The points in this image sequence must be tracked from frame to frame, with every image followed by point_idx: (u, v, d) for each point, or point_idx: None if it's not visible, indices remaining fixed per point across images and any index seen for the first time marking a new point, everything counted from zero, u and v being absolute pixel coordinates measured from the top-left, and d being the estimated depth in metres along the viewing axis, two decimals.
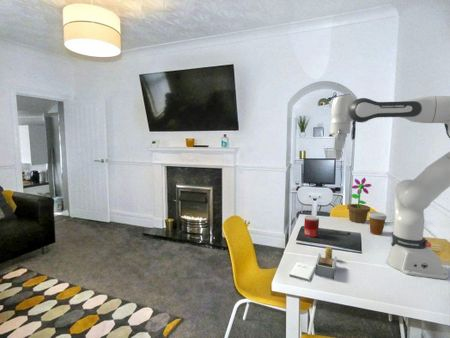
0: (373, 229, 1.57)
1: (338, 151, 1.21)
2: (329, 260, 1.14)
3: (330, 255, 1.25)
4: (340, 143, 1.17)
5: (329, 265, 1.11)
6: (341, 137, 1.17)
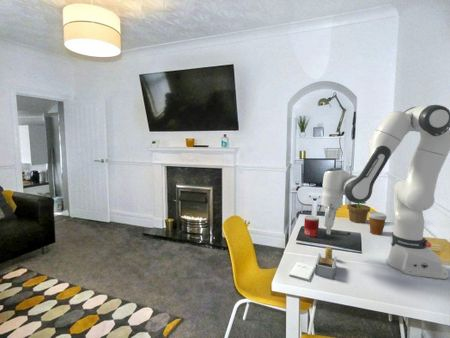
0: (373, 229, 1.57)
1: (329, 227, 1.18)
2: (329, 260, 1.14)
3: (330, 255, 1.25)
4: (331, 221, 1.14)
5: (329, 265, 1.11)
6: (332, 215, 1.14)
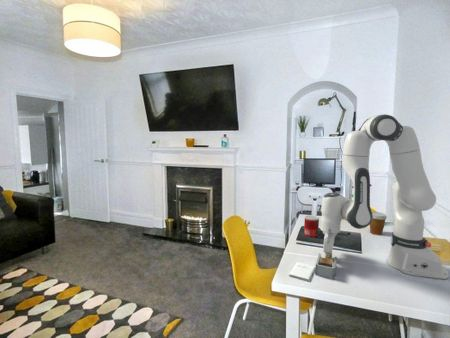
0: (373, 229, 1.57)
1: None
2: (329, 260, 1.14)
3: (330, 255, 1.25)
4: (329, 247, 1.16)
5: (329, 265, 1.11)
6: (330, 241, 1.16)
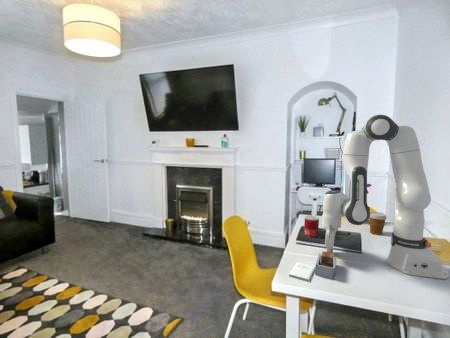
0: (373, 229, 1.57)
1: None
2: (330, 254, 1.20)
3: (331, 250, 1.30)
4: (331, 242, 1.22)
5: (330, 259, 1.17)
6: (332, 236, 1.22)
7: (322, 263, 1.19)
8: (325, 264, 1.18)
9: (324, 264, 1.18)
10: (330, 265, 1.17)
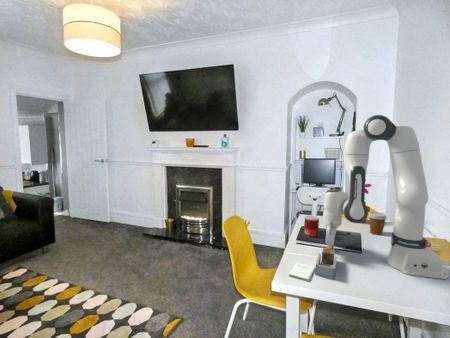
0: (373, 229, 1.57)
1: None
2: (331, 250, 1.23)
3: (332, 247, 1.34)
4: (331, 239, 1.25)
5: (331, 255, 1.20)
6: (332, 233, 1.25)
7: (323, 259, 1.22)
8: (326, 260, 1.21)
9: (325, 260, 1.22)
10: (331, 261, 1.21)
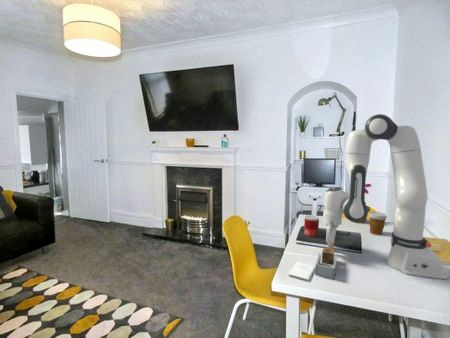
0: (373, 229, 1.57)
1: (330, 242, 1.29)
2: (331, 250, 1.23)
3: (332, 246, 1.34)
4: (332, 238, 1.25)
5: (331, 255, 1.20)
6: (333, 232, 1.25)
7: (323, 259, 1.22)
8: (326, 260, 1.22)
9: (325, 259, 1.22)
10: (331, 261, 1.21)
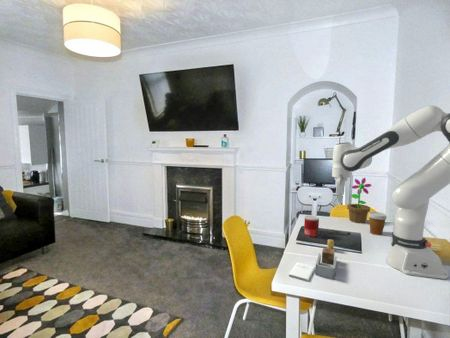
0: (373, 229, 1.57)
1: (340, 194, 1.32)
2: (331, 250, 1.23)
3: (332, 246, 1.34)
4: (342, 188, 1.29)
5: (331, 255, 1.20)
6: (343, 183, 1.29)
7: (323, 259, 1.22)
8: (326, 260, 1.22)
9: (325, 259, 1.22)
10: (331, 261, 1.21)
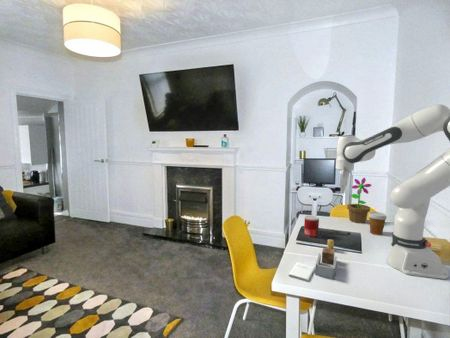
0: (373, 229, 1.57)
1: (343, 186, 1.35)
2: (331, 250, 1.23)
3: (332, 246, 1.34)
4: (345, 180, 1.31)
5: (331, 255, 1.20)
6: (346, 175, 1.31)
7: (323, 259, 1.22)
8: (326, 260, 1.22)
9: (325, 259, 1.22)
10: (331, 261, 1.21)
